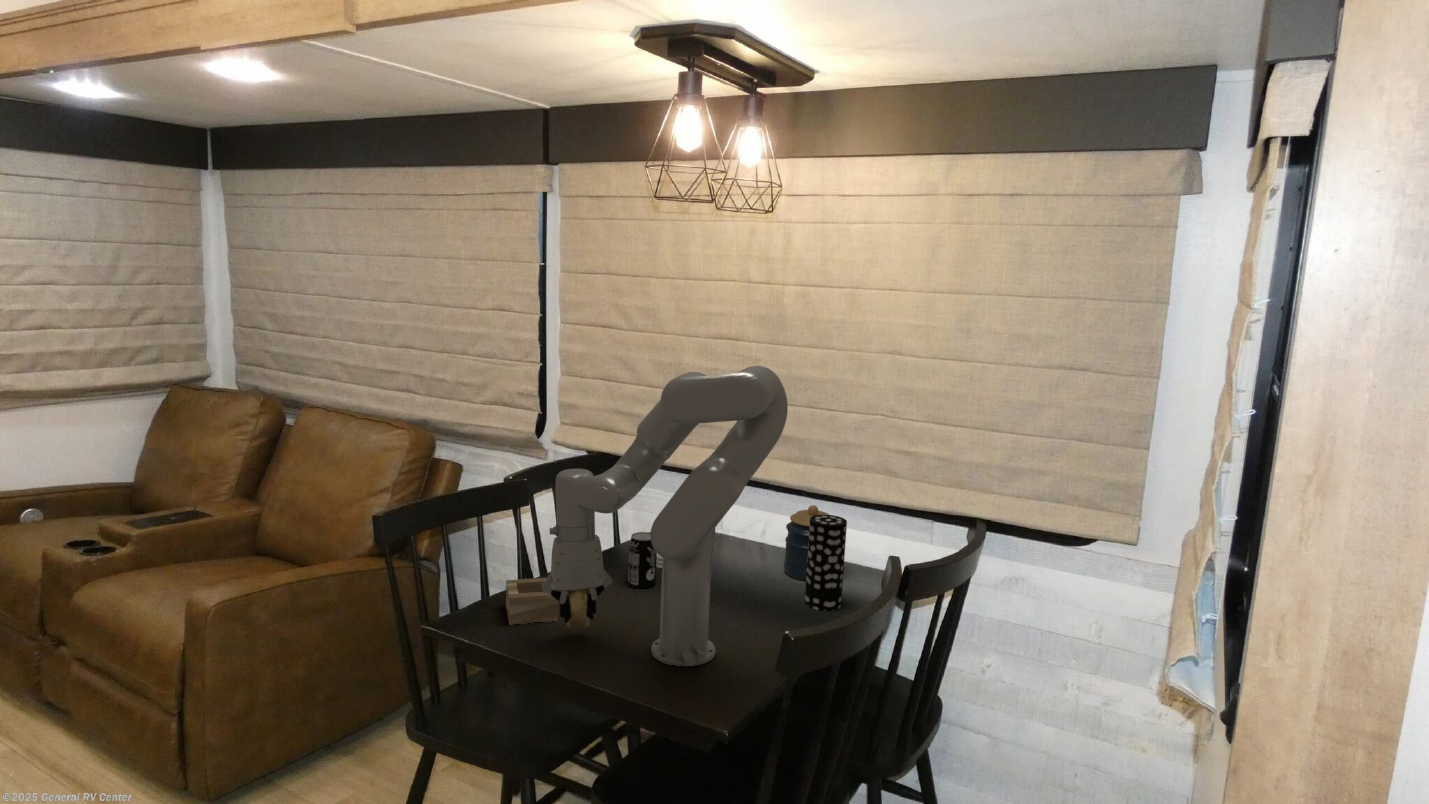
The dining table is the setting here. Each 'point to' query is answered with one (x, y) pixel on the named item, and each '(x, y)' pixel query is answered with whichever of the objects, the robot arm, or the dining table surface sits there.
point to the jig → (529, 602)
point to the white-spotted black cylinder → (825, 562)
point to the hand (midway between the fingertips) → (578, 617)
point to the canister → (799, 542)
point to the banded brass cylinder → (578, 608)
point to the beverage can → (642, 561)
